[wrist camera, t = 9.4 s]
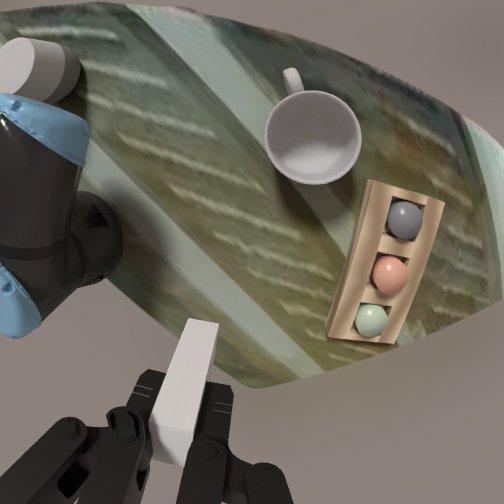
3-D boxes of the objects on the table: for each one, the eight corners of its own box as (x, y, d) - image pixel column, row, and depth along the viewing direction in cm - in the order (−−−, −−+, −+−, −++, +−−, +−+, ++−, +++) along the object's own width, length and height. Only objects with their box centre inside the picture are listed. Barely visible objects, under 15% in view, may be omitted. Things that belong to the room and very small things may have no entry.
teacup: (348, 174, 40) (365, 181, 33) (269, 181, 41) (270, 190, 34) (336, 75, 35) (351, 61, 28) (255, 81, 36) (253, 67, 29)
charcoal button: (379, 229, 41) (387, 235, 39) (388, 195, 40) (396, 199, 37) (408, 236, 42) (416, 242, 39) (417, 203, 40) (426, 208, 37)
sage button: (348, 324, 47) (352, 335, 44) (358, 297, 45) (363, 307, 42) (375, 327, 47) (381, 338, 44) (386, 301, 45) (392, 311, 43)
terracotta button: (366, 282, 43) (372, 292, 40) (376, 251, 42) (383, 259, 39) (394, 287, 43) (401, 296, 41) (405, 257, 42) (413, 265, 39)
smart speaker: (85, 97, 37) (26, 89, 24) (42, 109, 38) (-17, 109, 24) (87, 42, 34) (33, 20, 21) (44, 58, 34) (-12, 46, 21)
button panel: (324, 326, 48) (327, 337, 46) (366, 178, 40) (373, 181, 37) (388, 333, 49) (393, 343, 46) (435, 198, 40) (444, 202, 38)
